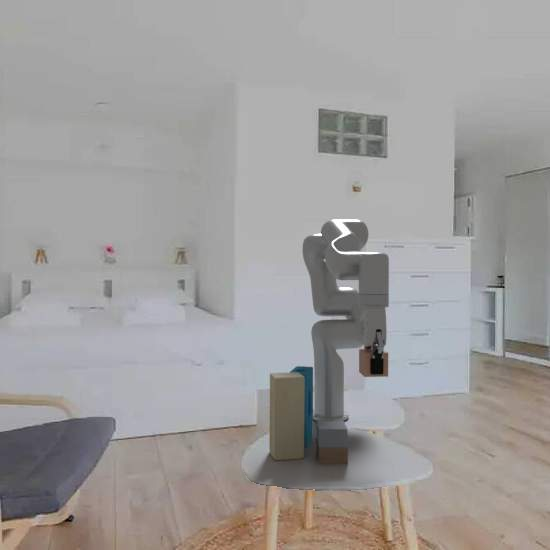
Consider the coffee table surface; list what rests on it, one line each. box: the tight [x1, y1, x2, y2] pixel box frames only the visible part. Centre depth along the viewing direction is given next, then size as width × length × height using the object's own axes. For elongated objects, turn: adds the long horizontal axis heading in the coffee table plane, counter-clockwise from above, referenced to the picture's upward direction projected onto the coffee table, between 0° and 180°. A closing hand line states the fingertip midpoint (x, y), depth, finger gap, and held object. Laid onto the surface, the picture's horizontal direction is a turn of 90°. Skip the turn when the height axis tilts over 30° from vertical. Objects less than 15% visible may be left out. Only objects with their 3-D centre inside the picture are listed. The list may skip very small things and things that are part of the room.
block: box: [288, 365, 314, 448], centre depth 150 cm, size 12×5×20 cm, turn 165°
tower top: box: [316, 420, 348, 447], centre depth 136 cm, size 7×7×4 cm
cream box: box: [268, 372, 305, 461], centre depth 140 cm, size 8×7×21 cm
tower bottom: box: [315, 437, 349, 466], centre depth 137 cm, size 7×7×4 cm
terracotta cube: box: [358, 348, 389, 378], centre depth 137 cm, size 6×6×6 cm
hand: (373, 370), depth 137 cm, fingers closed on terracotta cube, 6 cm apart
